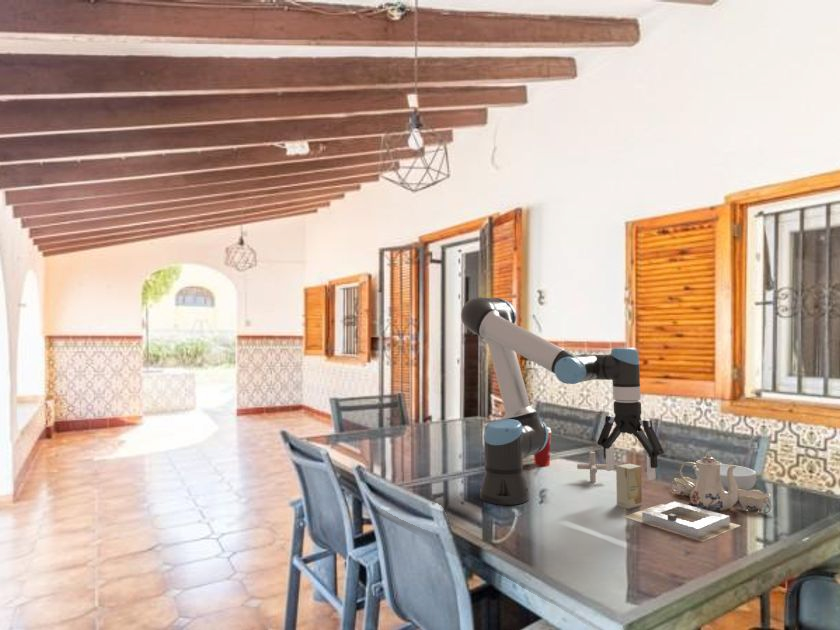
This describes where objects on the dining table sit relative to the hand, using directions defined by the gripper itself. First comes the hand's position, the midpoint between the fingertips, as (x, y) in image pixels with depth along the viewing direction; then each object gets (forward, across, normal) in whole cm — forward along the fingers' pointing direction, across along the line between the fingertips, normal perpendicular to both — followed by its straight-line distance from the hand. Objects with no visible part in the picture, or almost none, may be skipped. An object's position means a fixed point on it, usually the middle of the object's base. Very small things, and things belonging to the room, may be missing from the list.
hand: (630, 474), depth 159 cm
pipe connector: (+10, +25, -14) cm, 30 cm away
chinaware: (+10, -13, -20) cm, 26 cm away
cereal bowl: (+10, -7, -38) cm, 40 cm away
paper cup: (+9, +52, -18) cm, 55 cm away
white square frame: (+9, -17, +2) cm, 20 cm away
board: (+10, -15, +1) cm, 18 cm away
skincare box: (+10, +1, 0) cm, 10 cm away
